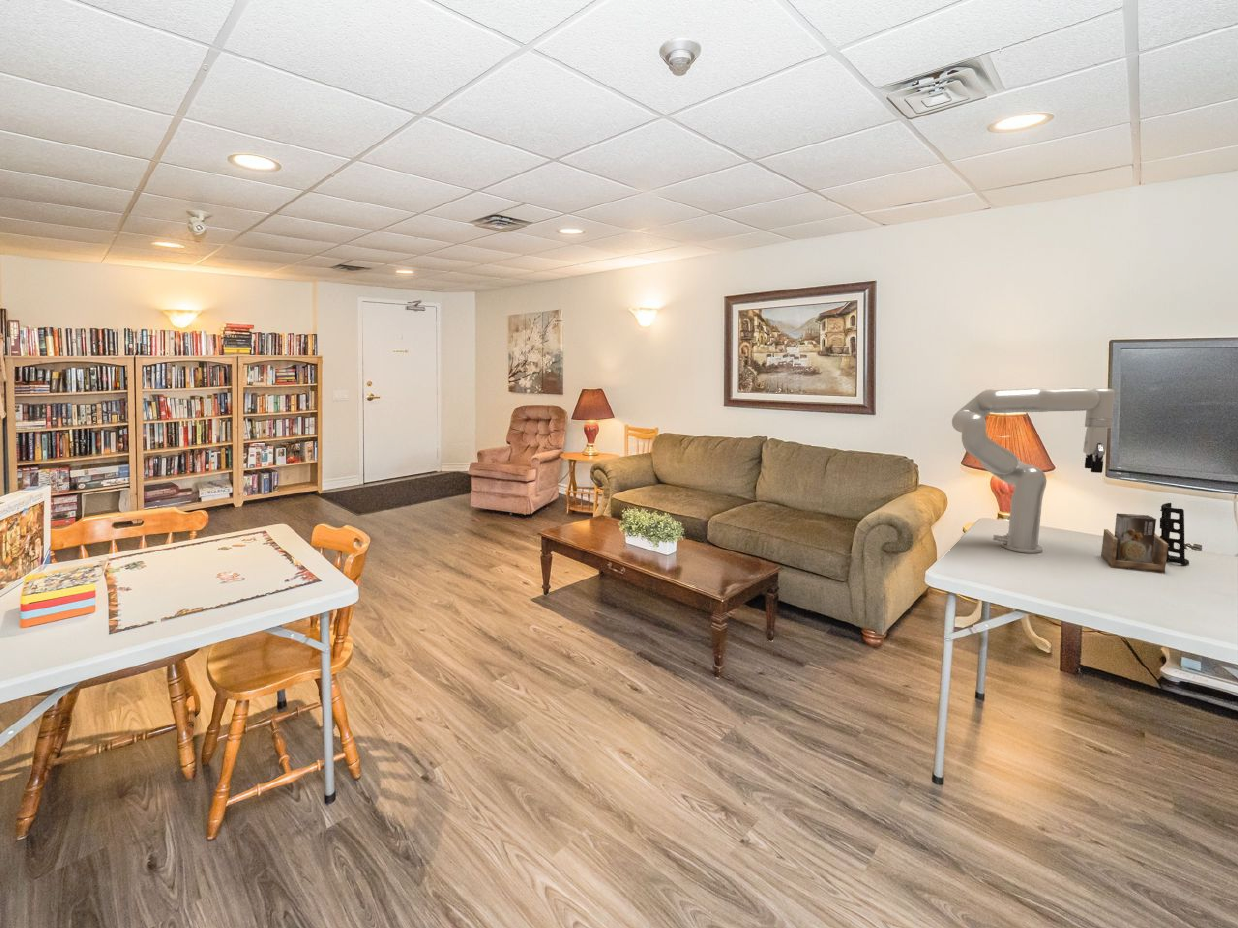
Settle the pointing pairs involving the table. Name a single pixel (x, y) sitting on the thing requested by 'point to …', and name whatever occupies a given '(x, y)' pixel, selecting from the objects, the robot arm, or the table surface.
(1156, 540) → the cradle
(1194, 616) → the table surface
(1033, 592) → the table surface
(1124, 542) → the coffee box
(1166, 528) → the holder
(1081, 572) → the table surface
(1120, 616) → the table surface
